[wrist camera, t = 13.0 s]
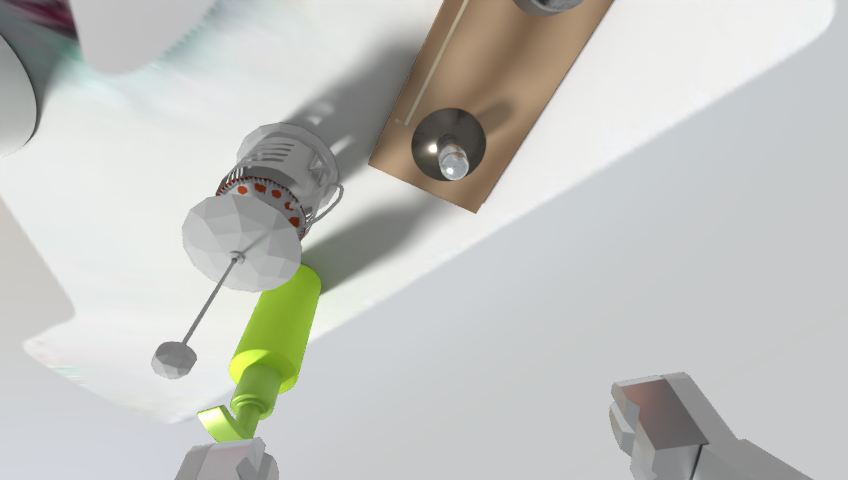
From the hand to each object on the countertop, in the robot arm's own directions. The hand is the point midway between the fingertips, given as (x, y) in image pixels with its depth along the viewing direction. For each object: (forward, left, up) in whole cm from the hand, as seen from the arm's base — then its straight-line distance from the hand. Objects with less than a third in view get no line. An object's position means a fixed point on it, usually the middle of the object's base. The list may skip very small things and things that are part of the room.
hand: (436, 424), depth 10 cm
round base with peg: (+5, -2, -32) cm, 32 cm away
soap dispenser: (-3, -24, -33) cm, 41 cm away
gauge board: (+5, +6, -33) cm, 34 cm away
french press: (-7, -11, -33) cm, 36 cm away
